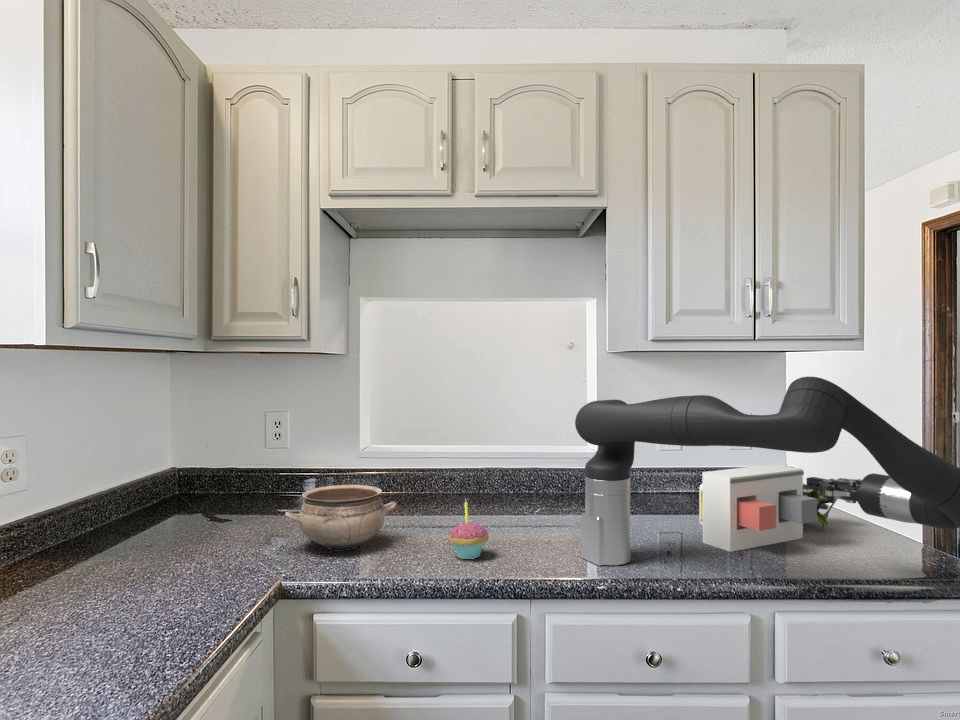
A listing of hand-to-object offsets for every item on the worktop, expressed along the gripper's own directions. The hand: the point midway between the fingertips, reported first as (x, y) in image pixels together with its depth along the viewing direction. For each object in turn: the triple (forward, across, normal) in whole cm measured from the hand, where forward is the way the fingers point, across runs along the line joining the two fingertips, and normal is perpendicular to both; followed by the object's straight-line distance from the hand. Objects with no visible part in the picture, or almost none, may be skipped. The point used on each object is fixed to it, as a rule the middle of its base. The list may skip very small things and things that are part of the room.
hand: (809, 482), depth 132 cm
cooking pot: (+57, -80, -16) cm, 100 cm away
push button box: (+19, +5, -17) cm, 26 cm away
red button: (+13, -1, -11) cm, 17 cm away
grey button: (+13, +12, -12) cm, 21 cm away
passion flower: (+22, +27, -17) cm, 39 cm away
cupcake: (+37, -58, -16) cm, 71 cm away
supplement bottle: (+33, +7, -17) cm, 38 cm away
